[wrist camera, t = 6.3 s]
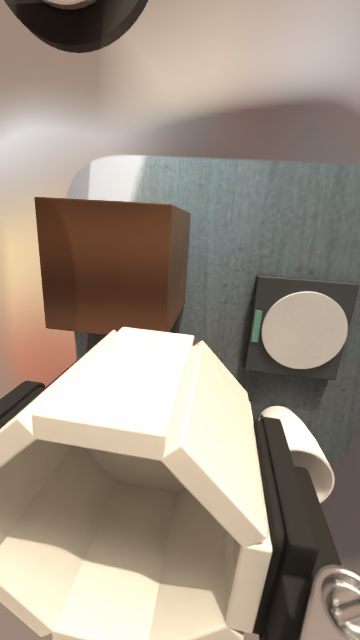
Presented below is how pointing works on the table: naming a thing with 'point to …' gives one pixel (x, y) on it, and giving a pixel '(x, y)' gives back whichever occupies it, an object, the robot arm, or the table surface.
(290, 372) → the scale
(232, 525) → the bowl
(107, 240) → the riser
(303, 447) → the cup
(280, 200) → the table surface
